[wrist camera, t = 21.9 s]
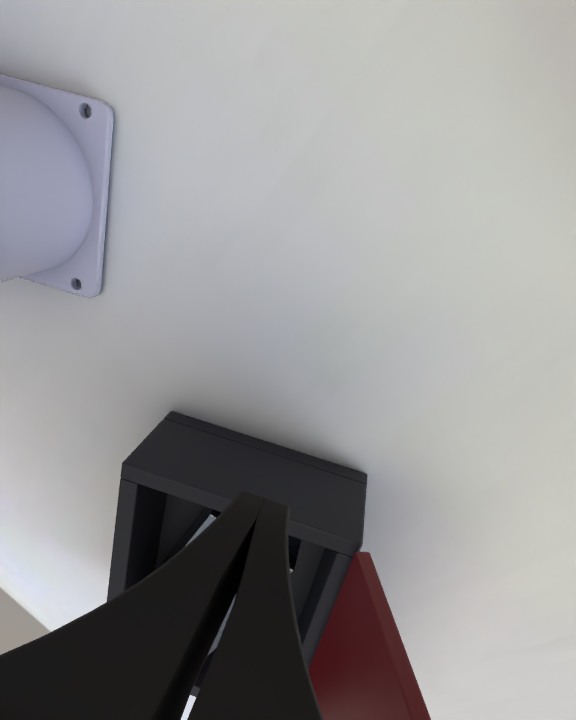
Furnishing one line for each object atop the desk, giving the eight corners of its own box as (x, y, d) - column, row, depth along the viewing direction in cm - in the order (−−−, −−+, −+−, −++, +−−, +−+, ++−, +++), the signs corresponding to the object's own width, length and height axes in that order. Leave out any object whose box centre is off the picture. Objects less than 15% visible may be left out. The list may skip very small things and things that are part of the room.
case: (143, 587, 28) (99, 660, 24) (170, 410, 23) (121, 462, 18) (302, 645, 27) (286, 732, 23) (367, 474, 22) (362, 544, 18)
